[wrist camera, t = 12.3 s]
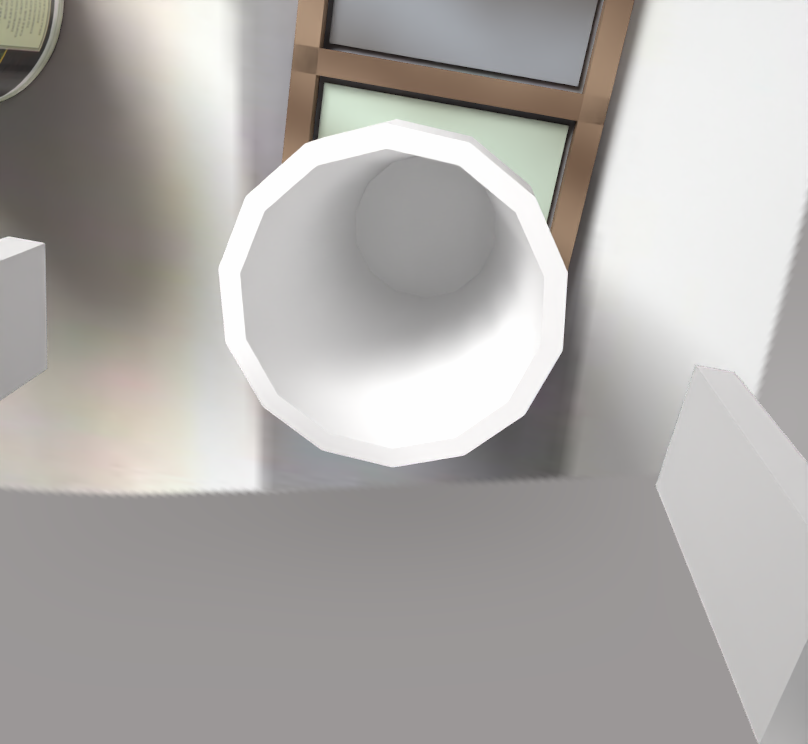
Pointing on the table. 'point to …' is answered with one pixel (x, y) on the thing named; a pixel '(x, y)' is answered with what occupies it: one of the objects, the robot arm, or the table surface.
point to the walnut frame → (468, 81)
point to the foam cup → (394, 293)
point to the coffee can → (26, 41)
